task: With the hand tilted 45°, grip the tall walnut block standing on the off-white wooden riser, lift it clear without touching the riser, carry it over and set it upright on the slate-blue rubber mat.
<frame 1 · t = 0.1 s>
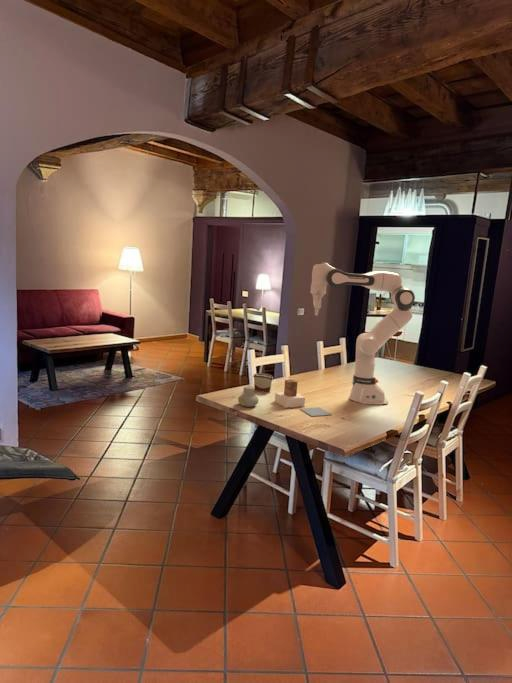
hand: (316, 314, 269), 48 cm above the table, tool pointing down, fingers open, 8 cm apart
riser: (289, 403, 257), on the table
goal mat: (315, 412, 245), on the table
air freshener: (247, 405, 248), on the table
food container: (263, 390, 279), on the table
walnut block: (290, 395, 256), point 5 cm above the table, touching riser
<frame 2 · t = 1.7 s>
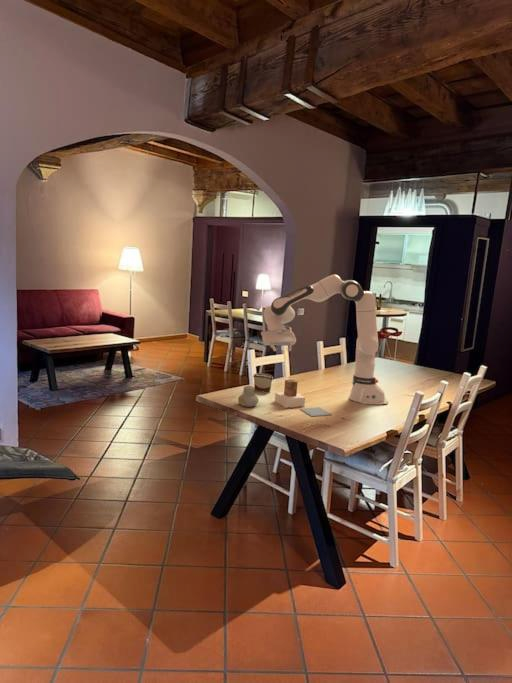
hand: (282, 350, 263), 27 cm above the table, tool tilted 45°, fingers open, 8 cm apart
nothing on the table moved.
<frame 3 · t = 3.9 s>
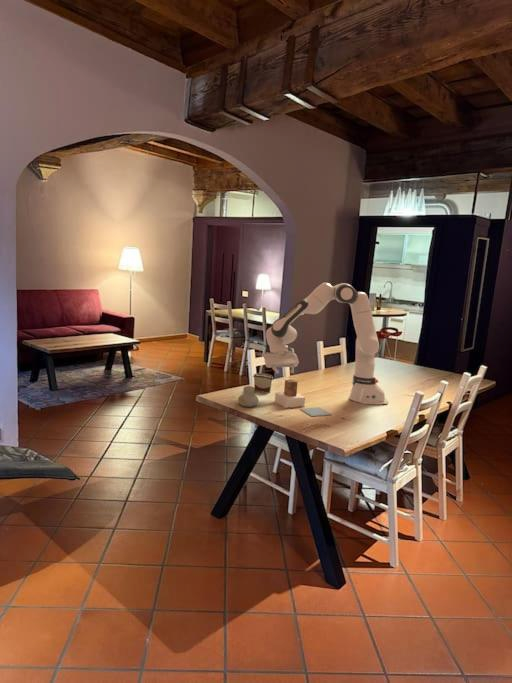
hand: (285, 372, 261), 16 cm above the table, tool tilted 45°, fingers open, 8 cm apart
nothing on the table moved.
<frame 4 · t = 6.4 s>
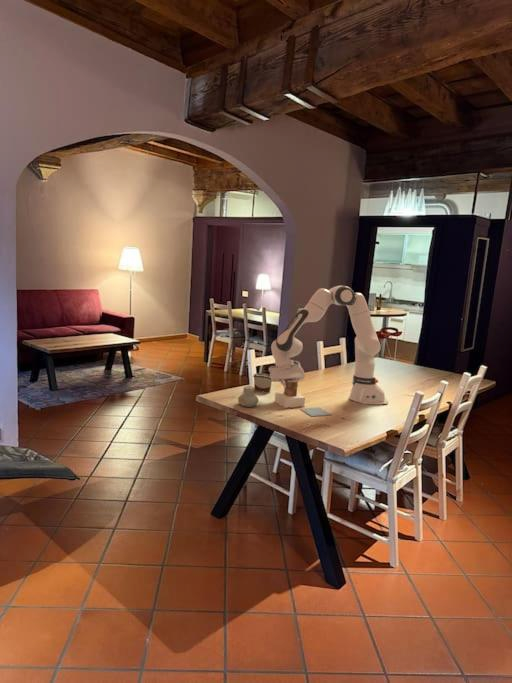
hand: (291, 387, 254), 10 cm above the table, tool tilted 45°, fingers closed on walnut block, 5 cm apart
walnut block: (290, 395, 256), point 5 cm above the table, touching gripper, riser
everything else where it was.
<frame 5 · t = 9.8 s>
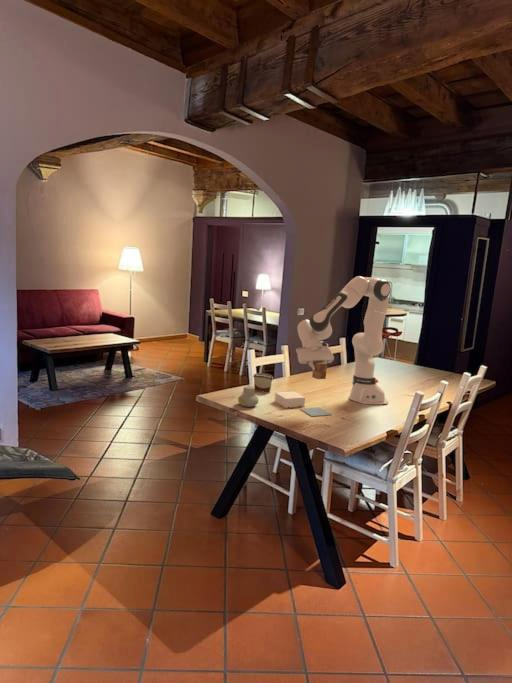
hand: (320, 369, 240), 23 cm above the table, tool tilted 45°, fingers closed on walnut block, 5 cm apart
walnut block: (318, 377, 242), point 19 cm above the table, touching gripper
everything else where it was.
when the fingers open (7 cm above the table, at t = 13.4 s): walnut block drops 1 cm, resting on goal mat.
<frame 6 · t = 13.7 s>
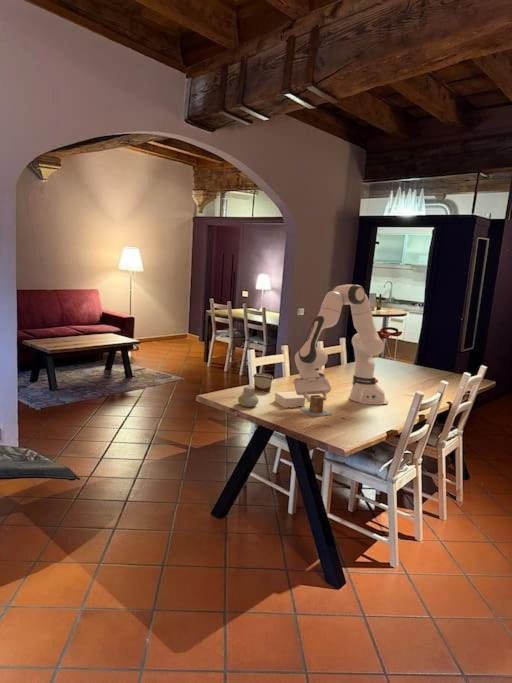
hand: (317, 400, 243), 7 cm above the table, tool tilted 45°, fingers open, 8 cm apart
walnut block: (315, 411, 245), resting on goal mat
everything else where it was.
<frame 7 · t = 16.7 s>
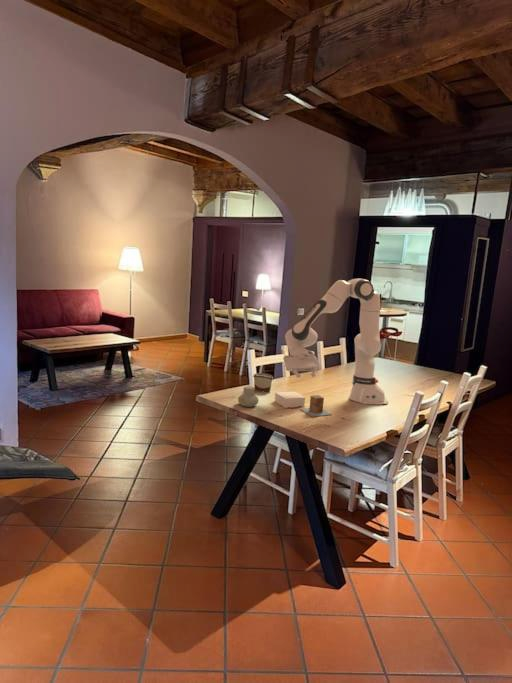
hand: (306, 376, 253), 16 cm above the table, tool tilted 45°, fingers open, 8 cm apart
nothing on the table moved.
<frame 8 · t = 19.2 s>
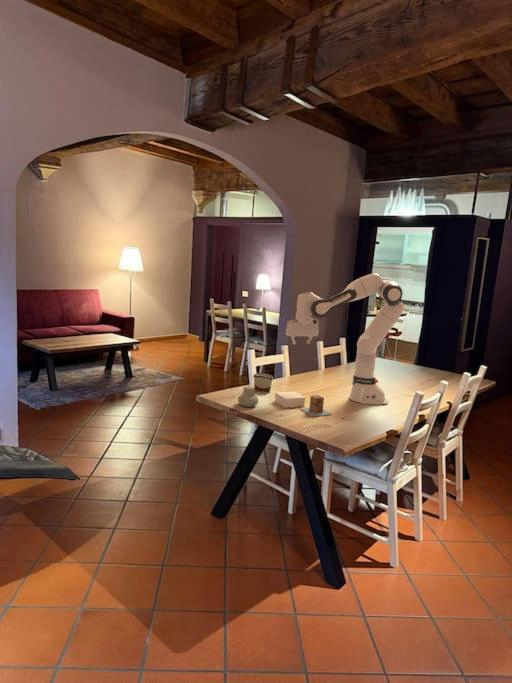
hand: (301, 343, 268), 31 cm above the table, tool pointing down, fingers open, 8 cm apart
nothing on the table moved.
at the end: walnut block inside the target area on the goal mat (0.1 cm from its centre), point 0.5 cm above the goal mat's base; walnut block tilted 0°; the gripper is holding nothing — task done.
